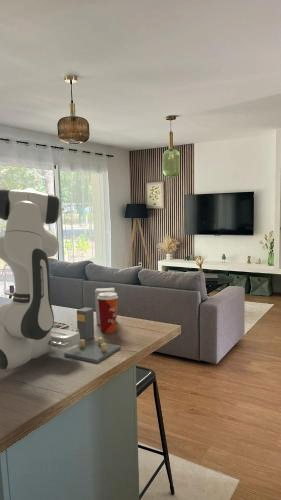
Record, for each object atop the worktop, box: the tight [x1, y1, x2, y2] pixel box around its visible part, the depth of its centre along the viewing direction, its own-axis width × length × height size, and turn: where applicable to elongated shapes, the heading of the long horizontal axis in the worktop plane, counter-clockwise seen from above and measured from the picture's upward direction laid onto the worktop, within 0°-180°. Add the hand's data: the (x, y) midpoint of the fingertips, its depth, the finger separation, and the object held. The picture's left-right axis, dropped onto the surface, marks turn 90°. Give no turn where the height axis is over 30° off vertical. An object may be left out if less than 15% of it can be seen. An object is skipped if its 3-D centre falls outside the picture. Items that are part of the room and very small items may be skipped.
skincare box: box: [94, 287, 118, 325], centre depth 157 cm, size 8×6×15 cm
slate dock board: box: [63, 336, 121, 364], centre depth 123 cm, size 13×14×4 cm
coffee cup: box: [97, 292, 119, 334], centre depth 145 cm, size 8×8×15 cm
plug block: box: [76, 306, 95, 342], centre depth 137 cm, size 4×6×11 cm
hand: (66, 329), depth 128 cm, fingers open, 8 cm apart
